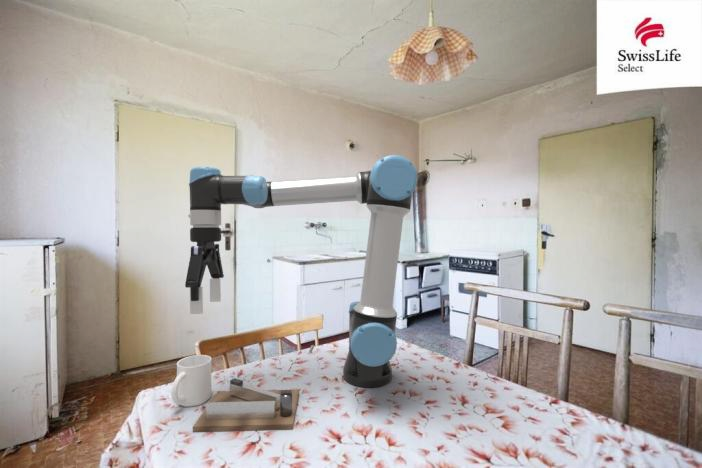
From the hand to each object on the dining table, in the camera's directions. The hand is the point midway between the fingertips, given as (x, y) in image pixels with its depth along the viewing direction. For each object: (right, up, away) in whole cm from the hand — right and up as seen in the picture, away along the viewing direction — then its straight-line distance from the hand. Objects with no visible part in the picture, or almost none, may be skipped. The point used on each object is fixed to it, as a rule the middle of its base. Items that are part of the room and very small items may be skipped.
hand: (206, 307), depth 87 cm
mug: (-4, -25, -2) cm, 25 cm away
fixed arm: (+14, -24, -9) cm, 29 cm away
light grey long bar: (+14, -23, -3) cm, 27 cm away
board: (+13, -25, -5) cm, 29 cm away
